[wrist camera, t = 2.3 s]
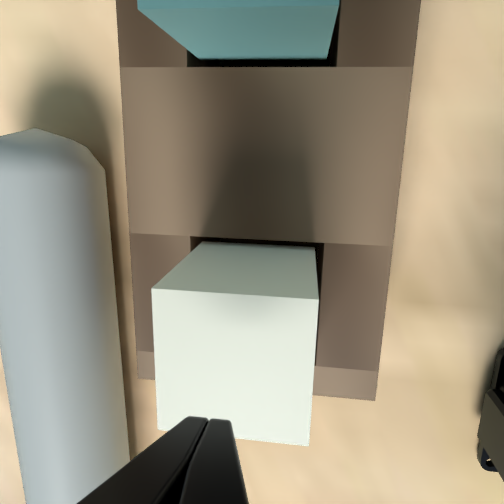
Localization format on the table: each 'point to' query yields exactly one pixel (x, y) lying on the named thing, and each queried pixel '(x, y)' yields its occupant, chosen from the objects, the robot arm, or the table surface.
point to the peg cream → (238, 339)
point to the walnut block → (274, 169)
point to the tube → (59, 317)
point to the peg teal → (247, 27)
